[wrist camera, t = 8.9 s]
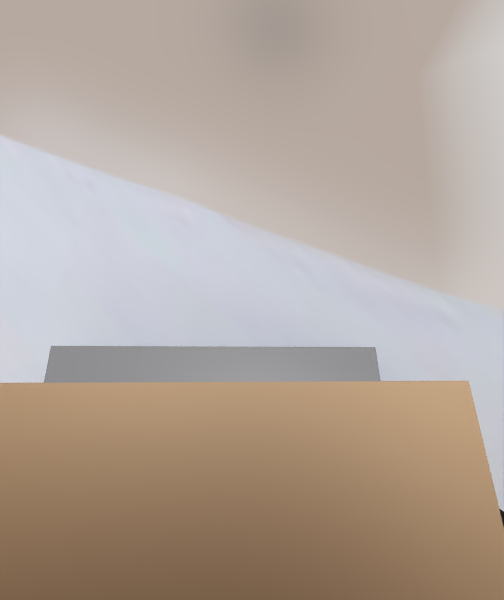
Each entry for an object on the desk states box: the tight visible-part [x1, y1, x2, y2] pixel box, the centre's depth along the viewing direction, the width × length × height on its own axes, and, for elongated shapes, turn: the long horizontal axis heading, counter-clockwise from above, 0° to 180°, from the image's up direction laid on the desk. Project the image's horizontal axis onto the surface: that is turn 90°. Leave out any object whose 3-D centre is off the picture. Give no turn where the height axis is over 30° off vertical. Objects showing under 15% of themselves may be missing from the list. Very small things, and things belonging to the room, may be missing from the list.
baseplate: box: [44, 346, 380, 383], centre depth 15 cm, size 14×14×2 cm
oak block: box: [0, 381, 504, 600], centre depth 8 cm, size 5×5×13 cm
